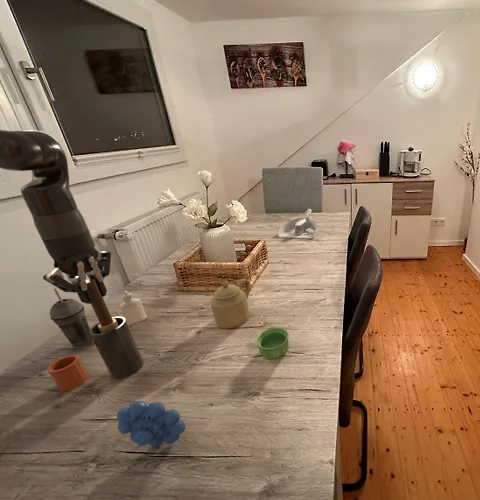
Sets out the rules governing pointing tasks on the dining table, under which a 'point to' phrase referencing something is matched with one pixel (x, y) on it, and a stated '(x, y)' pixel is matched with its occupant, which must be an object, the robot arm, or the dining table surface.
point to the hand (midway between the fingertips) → (95, 299)
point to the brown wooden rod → (101, 308)
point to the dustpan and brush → (299, 227)
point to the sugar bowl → (231, 304)
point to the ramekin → (273, 342)
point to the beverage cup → (71, 320)
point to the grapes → (150, 423)
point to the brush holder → (68, 372)
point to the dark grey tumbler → (118, 349)
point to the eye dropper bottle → (132, 309)
